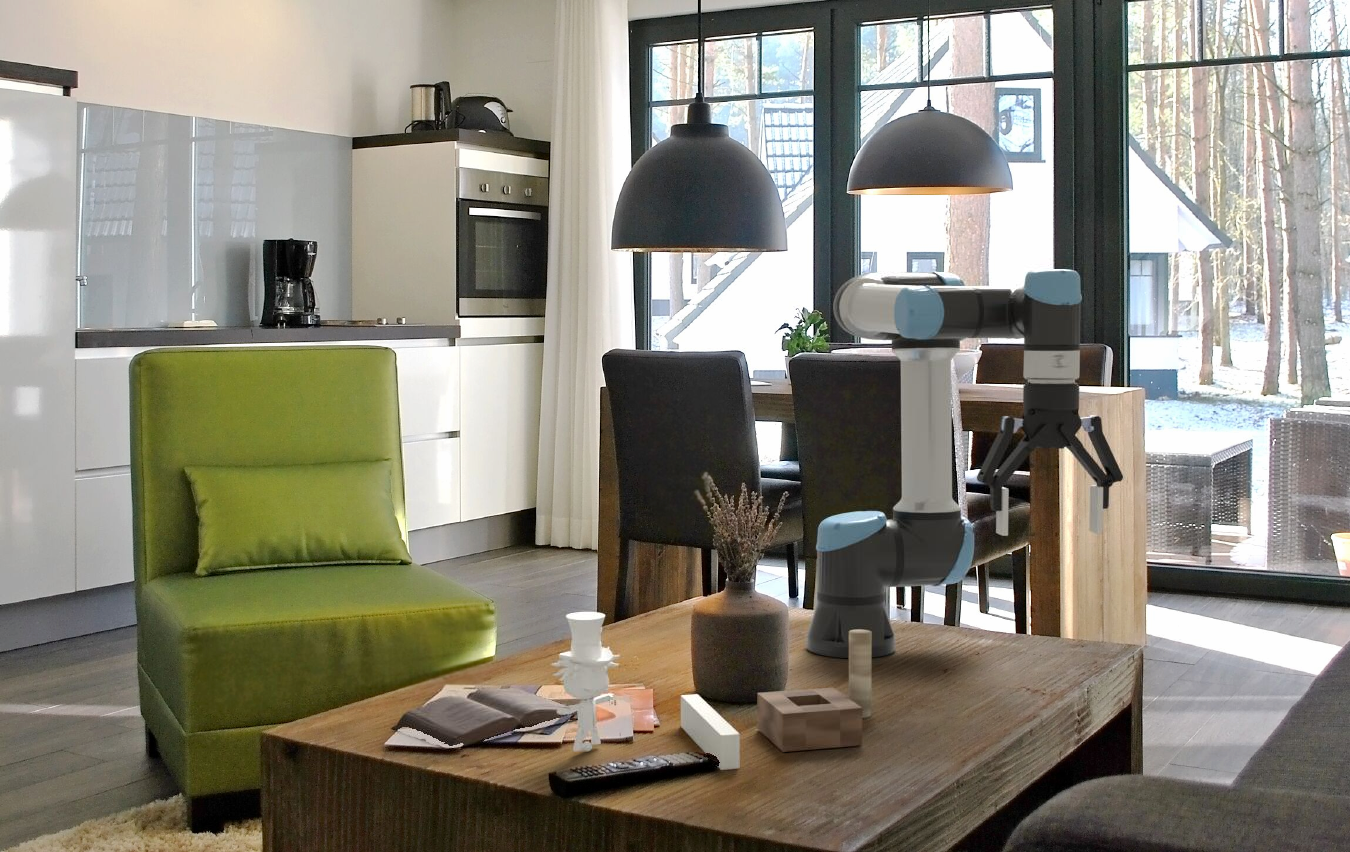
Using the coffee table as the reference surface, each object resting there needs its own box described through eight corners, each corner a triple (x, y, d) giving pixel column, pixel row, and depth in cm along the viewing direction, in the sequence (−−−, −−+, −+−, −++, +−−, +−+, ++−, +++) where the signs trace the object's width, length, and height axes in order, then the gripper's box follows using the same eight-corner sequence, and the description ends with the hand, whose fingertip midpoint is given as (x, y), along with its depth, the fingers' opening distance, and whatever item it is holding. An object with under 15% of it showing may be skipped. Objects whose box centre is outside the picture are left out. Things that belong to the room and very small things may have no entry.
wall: (680, 726, 195) (680, 695, 195) (697, 725, 196) (697, 694, 195) (721, 770, 176) (721, 735, 175) (739, 768, 176) (739, 734, 176)
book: (369, 732, 196) (368, 701, 196) (530, 691, 215) (530, 663, 215) (449, 773, 182) (449, 740, 181) (614, 726, 201) (614, 695, 200)
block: (757, 728, 193) (757, 693, 193) (832, 722, 196) (832, 687, 195) (783, 751, 182) (783, 714, 182) (862, 745, 185) (862, 707, 185)
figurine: (582, 767, 177) (580, 626, 176) (538, 756, 182) (536, 618, 181) (634, 747, 185) (634, 612, 184) (591, 737, 190) (590, 606, 189)
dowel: (845, 712, 202) (845, 630, 201) (866, 711, 203) (866, 628, 202) (853, 718, 199) (853, 634, 198) (874, 716, 199) (875, 633, 199)
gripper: (972, 383, 189) (971, 539, 191) (1149, 381, 192) (1146, 535, 194) (955, 381, 197) (954, 531, 198) (1125, 379, 200) (1123, 527, 201)
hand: (1049, 533), depth 196 cm, fingers open, 13 cm apart
